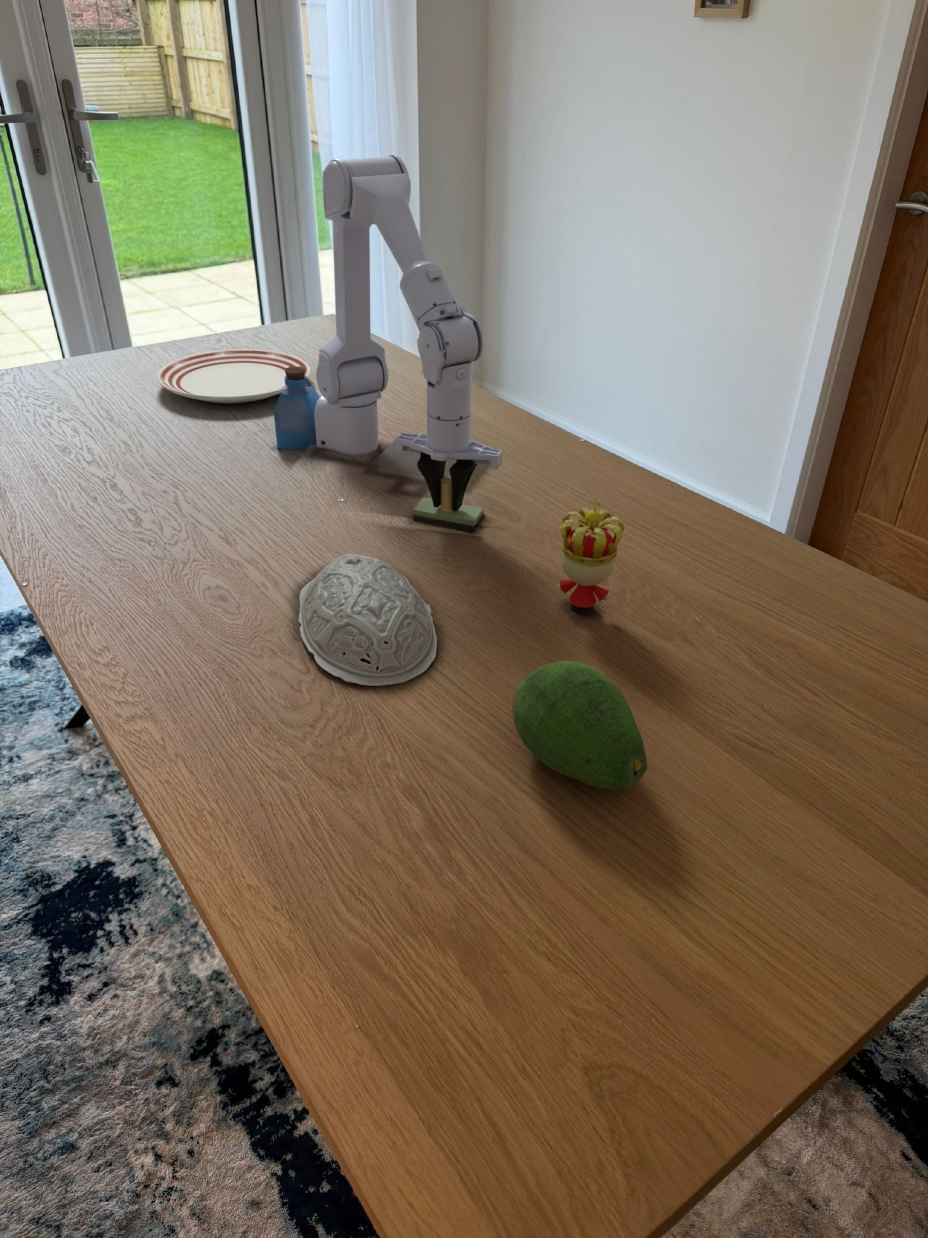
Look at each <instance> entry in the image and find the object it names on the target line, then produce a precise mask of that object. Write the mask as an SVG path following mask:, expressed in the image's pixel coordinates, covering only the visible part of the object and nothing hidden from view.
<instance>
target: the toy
mask: <svg viewBox="0 0 928 1238" xmlns="http://www.w3.org/2000/svg"><path fill="white" fill-rule="evenodd" d="M593 500H594V501H592V500H589V505H590V504H591V505H592V504H593V509H591V507H581V508H580V509H579V511H578V512H577V511H573V510H572V511H569V512H567V513H566V514H565V515H564V516H563V518H562V523H561V525H560V526H559V527H560V528H559V531H560V534H561V536H562V540H563V541H562V544H561V545H562V547H561V551H562V552H561V560H560V562H561V567H562V570H563V572H564V574H565V575H566V577H567V578H568V579H560V580H559V583H558V585H557V589H558V590H559V591H560V592H562V593H564V594H567V593H568V592H569V591H571V590H572V589H573V588H574V587H575V589H574V590H573V592H571V594H570V595H569V597H568V600H569V602H570V604H569V609H570V611H572V612H574V613H582V614H584V615H588V616H589V615H592V614H594V613H595V611H596V610H595V605H596V604H597V600H598V601H599V602H601V601H606V602H607V601H609V600H610V599H611V593H610V590H608V589H606V588H604V587H601V586H599V585H600V584H601V583H603V582H605V581H606V580H607V579H609V577H610V575H611V574H612V573H613V572H614V568H615V564H616V558H617V554H618V544H619V543H620V542H621V540H622V539H623V533H624V530H625V526H624V523H623V521H622V520H621V519H620V518H619V517H618V516H617V515H614V516H613V515H612V513H611V511H609V510H607V509H603V508H601V509H600V510H599V511H598V510H597V509H596V508H597V507H596V505H597V506H599V507H600V506H601V504H602V503H601V502H597V501H598V498H596V497H594V498H593ZM571 515H573V517H574V518H575V519H577V520H573V519H572V518H570V517H571ZM612 522H613V523H614V522H617V525H618V526H617V525H613V524H611V523H612ZM576 524H577V525H578V527H576V528H574V529H573V528H572V526H573V525H576ZM608 530H609V531H612V532H613V534H614V536H612V535H611V533H609V532H608Z"/></svg>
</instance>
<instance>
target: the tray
mask: <svg viewBox="0 0 928 1238" xmlns="http://www.w3.org/2000/svg"><path fill="white" fill-rule="evenodd" d="M419 459H420V453H416V452H410V451H404V452H398V451H396V439H395V440H394V441H393V442H392V443H391V444H390V445H389V446H388V447H386V449H384V450H383V451H382V452H381V453H380V454H379V455H378V456H376V457H375V458H374V459H373V460H372V461H371V462H370V463H369V464H368V467H373V468H378V469H384V470H388V471H389V470H390V471H394V472H399V473H405V474H410V475H415V476H420V477H423V475H422V473H421V472H420V470H419V469H418V467H417V462H418V460H419ZM454 463H456V460H454V459H447V460H446V463H445V472H444V477H451V476H450V472H449V470H450V468H451V466H452V465H453V464H454ZM482 466H483V465H482V464H477V466H476V468H475V470H474V472H473V474H472V476H471V478H470V480H471V479H472V478H473V477H474V476H475V474H476V473H477V472H478V471H479V470H480V468H481V467H482Z"/></svg>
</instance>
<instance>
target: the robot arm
mask: <svg viewBox="0 0 928 1238" xmlns="http://www.w3.org/2000/svg"><path fill="white" fill-rule="evenodd" d="M411 181H412V180H411V179H410V176H409V172H408V168H407V166H406V164H405V162H404V160H403V159H402V158H401V157H400V156H399V155H396V154H389V155H388V156H387V155H386V156H374V157H360V158H359V157H357V158H344V159H340V158H332V159H330V161H329V162H328V163H327V165H326V166H325V168H324V169H323V171H322V199H323V200H322V202H323V211H324V212H323V213H324V214H323V215H324V218H325V219H326V220H329V221H331V222H332V253H333V279H334V281H333V282H334V308H335V309H334V310H335V311H334V312H335V313H334V314H335V334H334V335H333V336H331V338H329V339H328V340H327V341H326V342H325V343H324V344H323V345H322V346H321V347H319V349H318V362H317V367H316V369H315V370H316V371H315V372H316V373H315V376H316V377H315V379H316V383H317V387H318V390H319V392H320V393H321V395H319V399H318V401H317V403H316V407H315V415H314V417H315V431H316V443H315V444H316V447H317V448H322V449H326V450H330V451H331V450H332V451H336V452H338V453H341V454H344V455H351V456H361V455H365V454H370V453H373V452H374V451H376V450H378V448H379V444H380V443H379V417H378V400H380V399H382V393H383V392H384V391H385V390H386V389H387V386H388V383H389V377H390V375H389V367H388V364H387V361H386V359H387V358H386V350H385V348H384V346H383V345H382V344H381V343H380V342H379V341H378V340H377V339H375V338H374V337H373V336H371V259H370V258H371V249H370V248H371V247H370V245H371V243H370V241H371V240H370V239H371V237H370V229H371V227H372V226H373V225H375V226H376V228H377V229H378V232H380V235H381V237H382V238H383V240H384V242H385V243H386V245H387V247H388V249H389V251H390V252H391V254H392V256H393V258H394V260H395V261H396V263H397V265H398V267H399V269H400V271H401V272H402V277H401V279H400V281H399V289H400V291H401V293H402V295H403V298H404V300H405V302H406V304H407V307H408V309H409V312H410V313H411V315H412V318H413V321H414V322H415V325H416V327H417V329H418V331H419V333H418V338H417V339H416V344H417V351H418V354H419V357H420V360H421V366H422V374H423V378H424V379H425V380H426V433H425V434H424V433H422V434H421V433H406V432H400V433H399V434H398V435H397V436H396V437H395V440H396V451H398V452H404V451H410V452H416V453H420V459H419V460H418V462H417V467H418V469H419V470H420V472H421V473H422V475H423V476H422V477H423V479H424V480H425V484H426V485H427V488H428V491H429V494H430V498H431V499H432V501H433V506H434V507H436V508H438V507H439V506H440V505H441V479H442V478H443V477H444V472H445V463H446V460H447V459H454V460H456V463H454V464H453V465H452V466H451V468H450V470H449V472H450V476H451V482H452V511H458V510H459V509H460V507H461V506H462V504H463V502H464V497H465V494H466V491H467V487H468V484H469V482H470V480H471V479H472V478H471V476H472V474H473V472H474V470H475V468H476V466H477V464H482V466H489V468H490V469H492V470H498V469H499V468H500V467H501V466H502V464H503V450H501V449H497V448H493V447H490V446H487V445H485V444H482V443H480V442H477V441H474V440H471V420H472V392H473V390H472V389H473V387H472V386H473V362H476V361H478V360H479V359H480V357H481V356H482V352H483V347H484V346H483V345H484V341H483V334H482V330H481V327H480V325H479V321H478V320H477V318H476V317H475V316H474V315H473V314H471V313H469V312H468V311H467V310H466V308H465V307H461V306H459V303H458V301H457V299H456V297H455V295H454V293H453V290H452V288H451V286H450V284H449V281H448V279H447V277H446V275H445V273H444V270H443V268H442V267H441V265H440V264H438V263H436V262H433V261H430V260H429V259H428V256H427V253H426V250H425V247H424V244H423V242H422V239H421V236H420V233H419V230H418V227H417V225H416V222H415V220H414V217H413V214H412V211H411V208H410V201H411V195H412V194H411V193H412V191H411V190H412V184H411ZM472 477H473V476H472ZM470 478H471V479H470Z"/></svg>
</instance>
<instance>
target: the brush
mask: <svg viewBox="0 0 928 1238" xmlns="http://www.w3.org/2000/svg"><path fill="white" fill-rule="evenodd" d="M484 509H485V508H484V507H480V506H473V505H469V504H463V503H462V506H461V507H460V509H459V510H458V511H452V482H451V477H443V478H442V479H441V505H440V506H439V507H438V508H436V507H434V506H433V501H432V497H425V496H423V497H422V498H421V499H420V501H419V502H418V503H417V504H416V505H415V507H414V508H413V509H412V514H413V517H412V521H413V522H418V523H423V524H428V525H434V526H437V527H444V528H449V529H454V530H460V531H464V532H470V533H475V532H476V531H477V529H478V528H479V526H480V524H478V522H479V521H480V519H481V518H482V517H483V515H484V511H485V510H484ZM414 516H417V517H414Z"/></svg>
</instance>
